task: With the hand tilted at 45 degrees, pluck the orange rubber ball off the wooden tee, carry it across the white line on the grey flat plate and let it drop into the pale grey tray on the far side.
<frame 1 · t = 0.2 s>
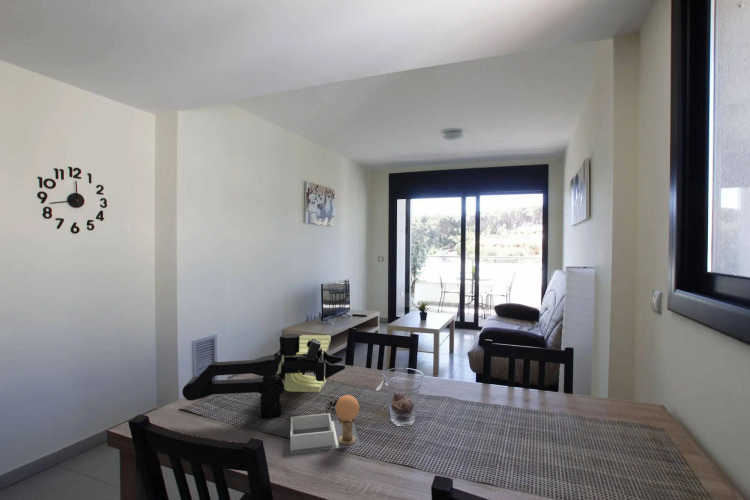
hand: (343, 363, 132), 17 cm above the table, tool horizontal, fingers open, 9 cm apart
bread basket: (304, 386, 155), on the table
fork: (383, 384, 158), on the table
grey flat plate: (324, 436, 113), on the table
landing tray: (311, 437, 111), resting on grey flat plate
ball: (347, 407, 109), point 10 cm above the table, touching ball tee
creature: (334, 410, 132), on the table
ball tee: (347, 440, 109), resting on grey flat plate
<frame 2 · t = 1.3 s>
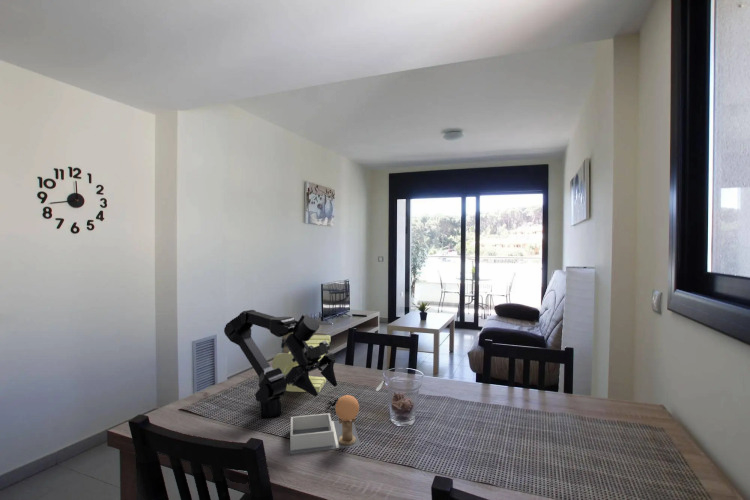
hand: (326, 390, 114), 14 cm above the table, tool tilted 45°, fingers open, 9 cm apart
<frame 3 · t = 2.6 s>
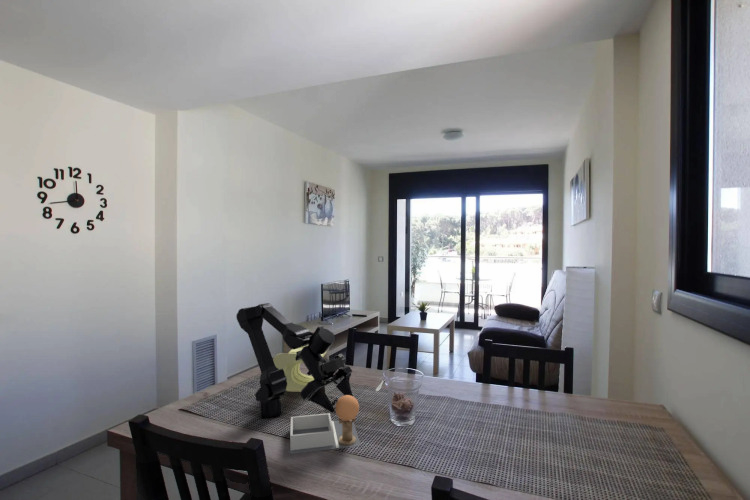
hand: (343, 405, 110), 11 cm above the table, tool tilted 45°, fingers open, 9 cm apart
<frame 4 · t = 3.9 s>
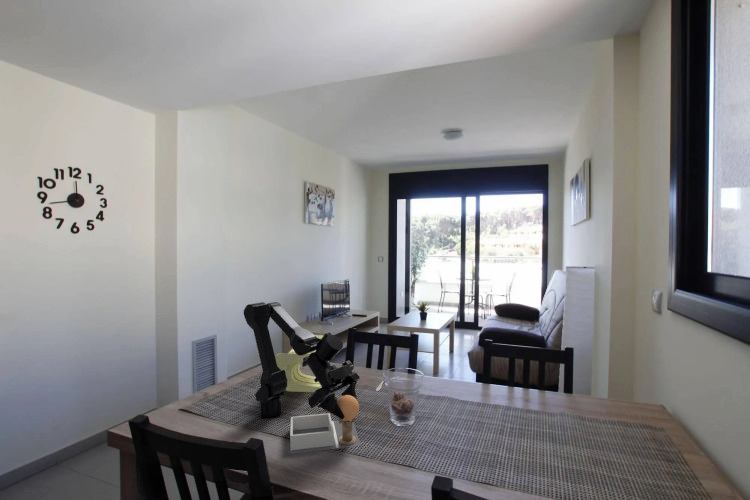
hand: (351, 413, 108), 9 cm above the table, tool tilted 45°, fingers closed on ball, 7 cm apart
ball: (347, 407, 109), point 10 cm above the table, touching ball tee, gripper
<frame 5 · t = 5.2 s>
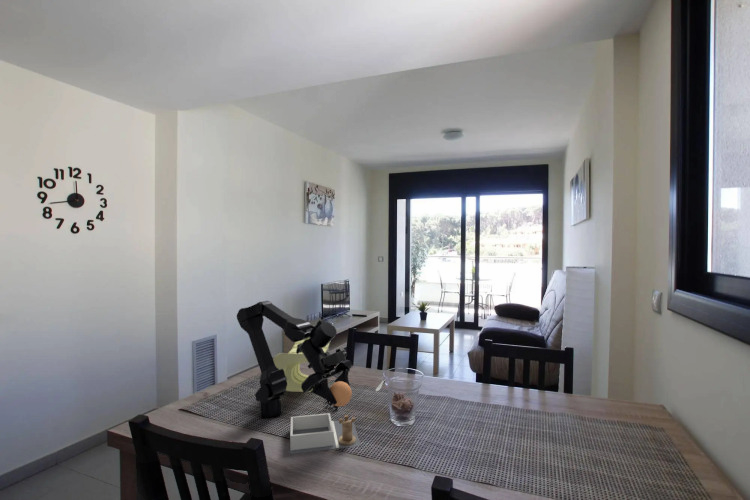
hand: (343, 399, 110), 13 cm above the table, tool tilted 45°, fingers closed on ball, 7 cm apart
ball: (339, 393, 111), point 14 cm above the table, touching gripper
when the fingers open (12 cm above the table, at t = 6.8 s): ball drops 9 cm, resting on grey flat plate.
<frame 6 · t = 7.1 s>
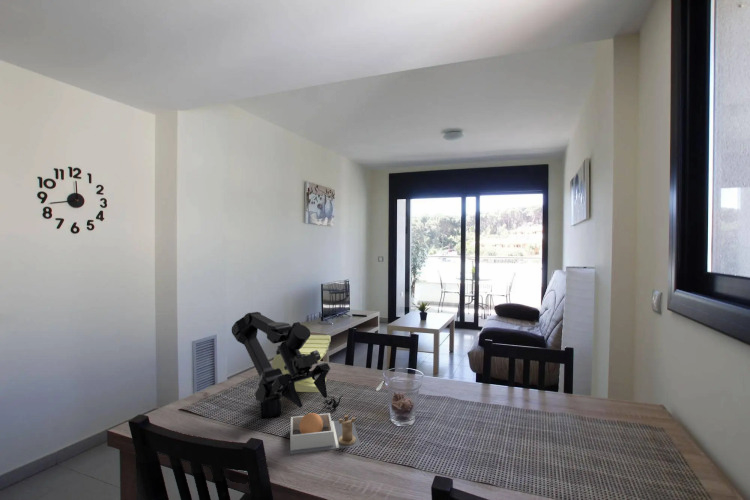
hand: (314, 402, 110), 12 cm above the table, tool tilted 45°, fingers open, 9 cm apart
ball: (311, 425, 111), point 4 cm above the table, touching grey flat plate
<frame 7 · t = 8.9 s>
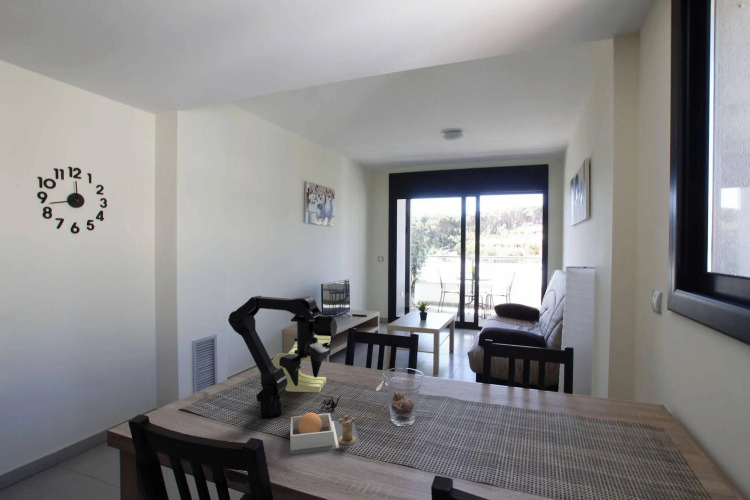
hand: (306, 381, 124), 13 cm above the table, tool pointing down, fingers open, 9 cm apart
ball: (310, 425, 112), point 4 cm above the table, tilted 9°, touching grey flat plate
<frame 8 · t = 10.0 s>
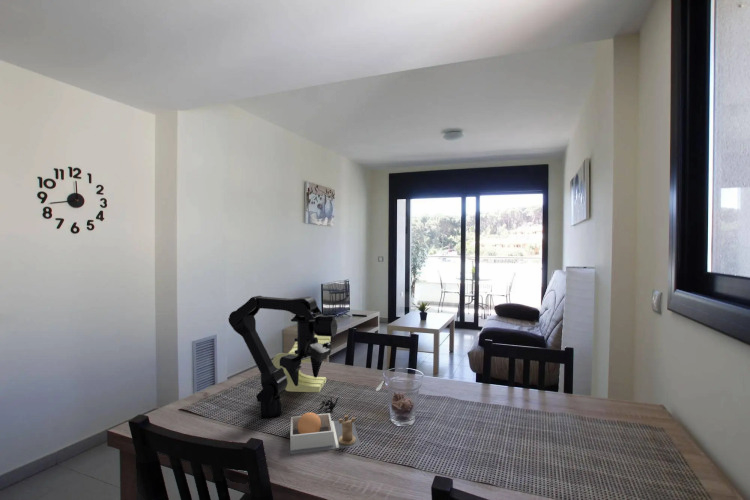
hand: (306, 381, 124), 13 cm above the table, tool pointing down, fingers open, 9 cm apart
at the end: ball 0.8 cm off-centre on the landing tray, point 3.5 cm above the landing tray's base; the gripper is holding nothing; ball moved 13.7 cm from its start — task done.
